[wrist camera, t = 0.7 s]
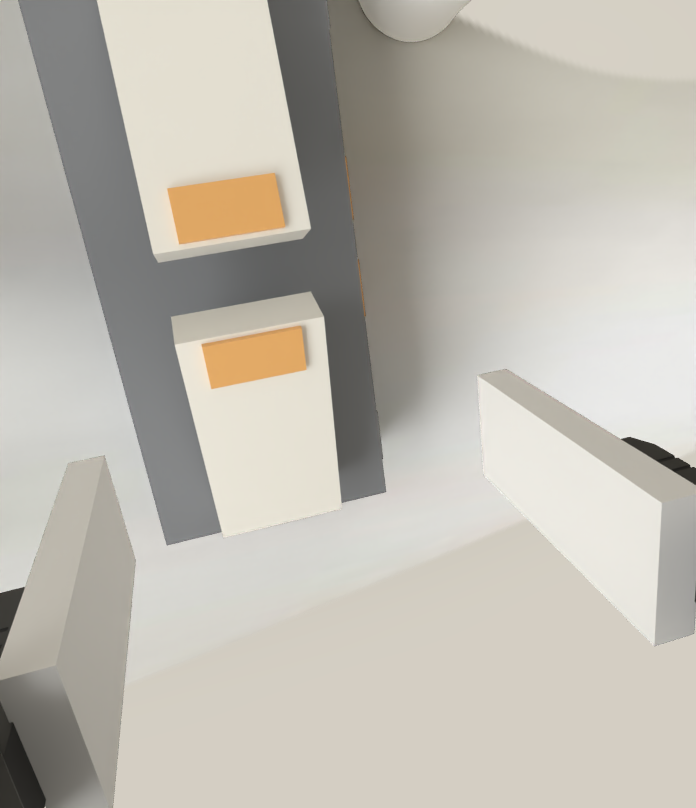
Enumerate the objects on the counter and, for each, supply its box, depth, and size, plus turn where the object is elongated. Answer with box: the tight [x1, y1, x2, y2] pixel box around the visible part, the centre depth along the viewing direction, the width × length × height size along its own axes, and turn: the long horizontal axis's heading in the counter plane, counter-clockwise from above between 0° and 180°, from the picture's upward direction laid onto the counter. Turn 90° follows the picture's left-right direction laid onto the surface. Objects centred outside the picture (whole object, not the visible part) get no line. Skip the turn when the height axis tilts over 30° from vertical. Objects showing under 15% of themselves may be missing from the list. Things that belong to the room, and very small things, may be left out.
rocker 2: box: [171, 291, 342, 538], centre depth 30 cm, size 6×11×3 cm, turn 7°
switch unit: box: [18, 0, 386, 545], centre depth 33 cm, size 12×27×7 cm, turn 7°
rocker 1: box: [97, 0, 311, 263], centre depth 25 cm, size 6×11×3 cm, turn 7°
